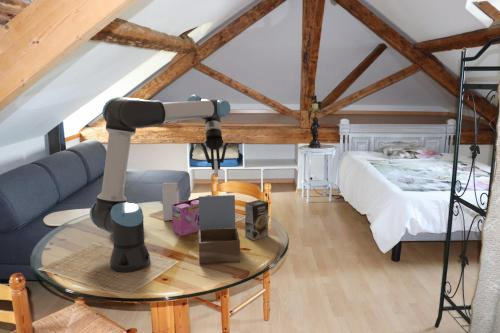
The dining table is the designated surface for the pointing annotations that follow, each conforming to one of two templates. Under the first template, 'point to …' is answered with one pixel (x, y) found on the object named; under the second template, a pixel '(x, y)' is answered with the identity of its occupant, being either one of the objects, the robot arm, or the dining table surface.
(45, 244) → the dining table surface
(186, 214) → the gum box
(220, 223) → the lid
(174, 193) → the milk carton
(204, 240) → the walnut box
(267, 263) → the dining table surface
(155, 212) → the dining table surface
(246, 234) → the coffee box
